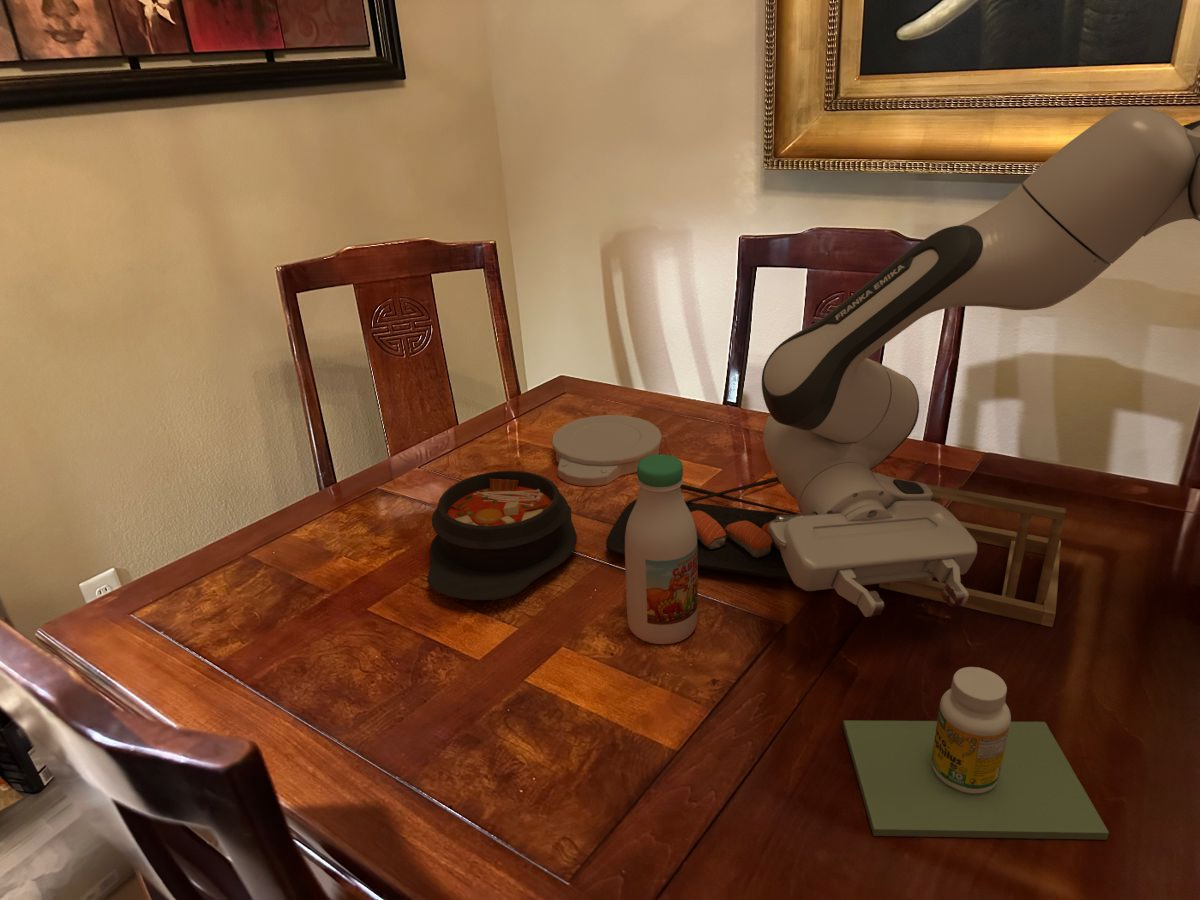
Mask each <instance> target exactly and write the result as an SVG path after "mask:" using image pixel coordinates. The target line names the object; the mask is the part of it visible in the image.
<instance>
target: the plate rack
mask: <svg viewBox="0 0 1200 900" xmlns="http://www.w3.org/2000/svg"><path fill="white" fill-rule="evenodd" d="M924 484H925V485H927V486H928V487H929V488H930V490H931V491H932V493H933V495H932V498H931V501H933V502H936V503H938V504H940V505H941V500H947V501H951V502H958V503H962V504H969V505H973V506H980V507H985V508H989V509H990V508H991V509H996V510H1002V511H1007V512H1013V513H1018V514H1020V517H1019V521H1018V527H1017V531H1013V530H1008V529H1002V528H998V527H997V528H996V527H992V526H987V525H981V524H976V523H971V522H965V521H959V520H958V521H959V522H960V523H961V524H962V525H963V526H964V527H965V529H966V530H967V531H968V532H969V533H970V535H971V536H972V537H973V538H974V540H975V541H976V543H981V544H987V545H992V546H996V547H1001V548H1007V549H1009V550H1008V556H1007V561H1006V562H1007V563H1006V568H1005V573H1004V580H1003V585H1002V591H1001V595H1000V594H995V593H991V592H986V591H982V590H977V589H972V588H968V587H964V588H965V589H966V590H967V591H968V593H969V598H968V599H967V601H966V603H965V605H961V606H960V607H962V608H966V609H971V610H974V611H975V610H976V611H979V612H983V613H988V614H993V615H997V616H1002V617H1005V618H1010V619H1015V620H1018V621H1022V622H1027V623H1031V624H1034V625H1035V624H1036V625H1040V626H1045V627H1049V628H1053V627H1054V624H1055V619H1056V615H1057V601H1058V590H1059V589H1058V587H1059V574H1060V560H1061V546H1062V540H1061V536H1062V531H1063V526H1064V522H1065V520H1066V519H1065V518H1066V513H1067V509H1066V508H1065V507H1059V506H1055V505H1047V504H1043V503H1035V502H1031V501H1025V500H1019V499H1013V498H1007V497H1003V496H996V495H990V494H985V493H979V492H972V491H968V490H962V489H956V488H951V487H944V486H940V485H939V486H938V485H933V484H927V483H924ZM1032 516H1034V517H1040V518H1044V519H1045V518H1046V519H1051V520H1052V521H1051V526H1050V531H1049V535H1048V537H1044V536H1039V535H1034V534H1029V530H1030V524H1031V520H1032ZM1025 552H1027V553H1032V554H1037V555H1043V556H1044V558H1043V564H1042V567H1041V573H1040V578H1039V581H1038V587H1037V591H1036V595H1035V599H1034V602H1031V601H1026V600H1022V599H1017V598H1016V595H1017V589H1018V583H1019V580H1020V575H1021V571H1022V570H1021V569H1022V565H1023V559H1024V555H1025ZM933 579H934V578H926V579H916V580H907V581H898V582H889V583H879V584H878V588H880V589H884V590H888V591H892V592H898V593H902V594H907V595H909V596H914V597H918V598H923V599H927V600H932V601H936V602H941V603H945V604H947V602H946V601H945V600H944V599H943V598H942V597H941V594H942V592H943V590H945V586H946V584H945V582H942V583H941V582H939V581H938V580H933Z"/></svg>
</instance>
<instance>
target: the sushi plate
mask: <svg viewBox="0 0 1200 900" xmlns="http://www.w3.org/2000/svg"><path fill="white" fill-rule="evenodd" d="M777 482H778V483H779V482H780V481H779V479H778V477H777V476H774V477H770V478H766V479H763V480H760V481H755V482H752V483H748V484H745V485H742V486H738V487H734V488H729V489H726V490H723V491H719V492H715V491H711V490H709V489H708V490H707V489H703V488H700V487H695V486H692V485H687V484H684V483H682V485H681V486H680V487H681V490H684V491H689V492H693V493H697V494H702V495H703V496H700V497H696V498H691V499H688V500H684V501H685V503H686V505H687V507H688V509H689V511H690V513H691V515H692V517H693V520H694V523H695V527H696V533H697V549H698V568H700V569H706V570H713V571H720V572H725V573H726V572H729V573H734V574H740V575H748V576H755V577H761V578H769V579H776V580H782V581H790V582H793V581H792V579H791V577H790V575H789V573H788V571H787V568H786V566H785V564H784V561H783V558H782V555H781V552H780V546H779V545H777V544H776V543H775V541H774V540H773V538H772V537H771V535H770V533H769V529H768V526H769V523H770V522H771V521H773V520H775V519H776V517H777V516H780V515H796V514H801V512H795V511H792V510H787V509H783V508H779V507H777V506H776V507H775V506H772V505H767V504H764V503H759V502H755V501H751V500H747V499H742V498H738V497H735V496H730V495H727V494H731V493H735V492H739V491H743V490H747V489H751V488H756V487H761V486H764V485H769V484H773V483H777ZM714 497H715V498H721V499H725V500H729V501H733V502H737V503H738V502H739V503H742V504H747V505H750V506H755V507H758V508H764V509H769V510H772V511H767V510H766V511H765V510H757V509H748V508H741V507H733V506H732V507H731V506H724V505H715V504H707V503H698V502H699V501H702V500H706V499H710V498H714ZM636 501H637V499H634V500H633V501H630V503H628V504H627V505H626V506H625V508H624V509H623V510H622V512H621V513H620V515H619V516H618V518H617V519H616V521H615V523H614V524H613V526H612V527H611V529H610V532H609V533H608V535H607V538H606V541H605V547H606V549H607V551H608V552H611V553H612V554H615V555H617V556H618V555H619V556H622V557H625V533H626V526H627V522H628V519H629V516H630V514H631V512H632V510H633V508H634V506H635V504H636ZM773 511H774V512H773ZM775 511H776V512H775Z"/></svg>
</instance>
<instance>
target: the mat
mask: <svg viewBox="0 0 1200 900" xmlns="http://www.w3.org/2000/svg"><path fill="white" fill-rule="evenodd" d="M936 727H937V720H860V719H859V720H857V719H856V720H848V719H846V720H843V722H842V728H843V732H844V736H845V740H846V742H847V746H848V750H849V754H850V757H851V761H852V765H853V768H854V772H855V775H856V779H857V783H858V785H859V789H860V793H861V796H862V800H863V804H864V808H865V811H866V814H867V818H868V823H869V826H870V830H871V833H872V836H873V837H914V838H915V837H916V838H917V837H921V838H974V839H975V838H976V839H977V838H980V839H983V838H984V839H1036V840H1037V839H1042V840H1043V839H1044V840H1046V839H1047V840H1093V841H1094V840H1099V841H1101V840H1102V841H1103V840H1104V841H1107V840H1108V839H1109V835H1110V832H1109V829H1108V828H1107V826H1106V825H1105V823H1104V821H1103V820H1102V818H1101V816H1100V815H1099V813H1098V811H1097V809H1096V808H1095V806H1094V804H1093V802H1092V800H1091V798H1090V797H1089V796H1088V793H1087V792H1086V790H1085V788H1084V787H1083V785H1082V783H1081V781H1080V779H1078V776H1077V775H1076V773H1075V771H1074V769H1073V768H1072V766H1071V764H1070V762H1069V761H1068V759H1067V757H1066V756H1065V754H1064V752H1063V751H1062V749H1061V747H1060V745H1059V743H1058V742H1057V740H1056V738H1055V736H1054V735H1053V733H1052V731H1051V729H1050V728H1049V726H1048V724H1047V722H1045V721H1011V723H1010V728H1009V733H1008V737H1007V742H1006V747H1005V752H1004V757H1003V762H1002V767H1001V772H1000V776H999V780H998V782H997V784H996V785H995V786H994V787H993V788H992V789H991V790H989V791H986V792H983V793H976V794H974V793H966V792H962V791H959V790H957V789H955V788H953V787H951V786H949V785H947V784H945V783H944V782H943V781H942V780H941V779H940V778H939V777H938V776H937V775H936V773H935V772H934V770H933V767H932V764H931V759H932V751H933V745H934V738H935V732H936Z"/></svg>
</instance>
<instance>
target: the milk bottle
mask: <svg viewBox="0 0 1200 900" xmlns="http://www.w3.org/2000/svg"><path fill="white" fill-rule="evenodd" d="M636 474H637V481H636V482H637V484H638V486H639V492H638V496H637V498H636V500H637V501H636V504H635V506H634V508H633V510H632V512H631V514H630V516H629V519H628V522H627V526H626V533H625V556H624V565H625V566H624V568H625V570H624V572H625V597H626V598H625V599H626V619H627V625H628V628H629V629H630V631H631V633H632V634H633V635H634V636H636V638H637V639H640V640H641V641H643V642H647V643H649V644H654V645H672V644H676V643H679V642H681V641H683V640H685V639H687V638H688V637H690V636H691V635H692V633H693V632H694V631H695V629H696V627H697V624H698V599H699V598H698V596H699V595H698V593H699V592H698V588H699V586H698V585H699V583H698V582H699V581H698V580H699V577H698V576H699V573H698V570H699V569H698V568H699V567H698V549H697V533H696V527H695V523H694V520H693V517H692V515H691V513H690V511H689V509H688V507H687V505H686V503H685V501H686V500H685V499H684V496H683V493H682V489H681V487H680V486H681V485H682V484H684V483H683V482H684V480H683V477H684V466H683V462H682V461H681V460H680V459H679V458H678V457H676V456H673V455H670V454H661V453H659V454H657V455H650V456H647V457H645V458H643V459H641V460H640V461H639V462H638V465H637V472H636Z"/></svg>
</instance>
